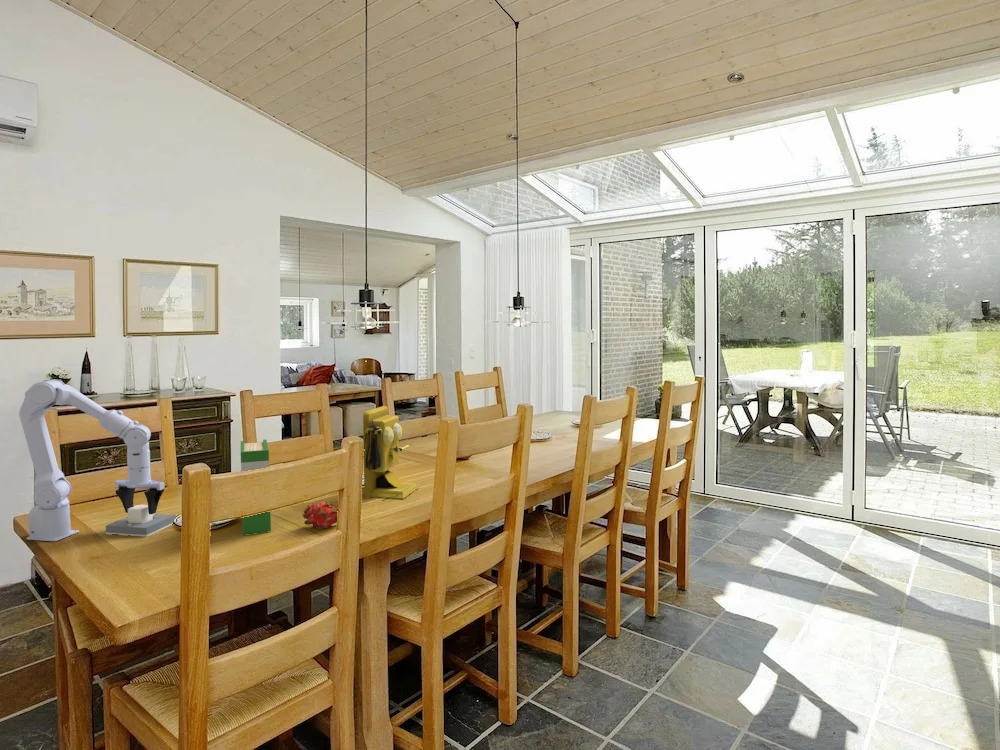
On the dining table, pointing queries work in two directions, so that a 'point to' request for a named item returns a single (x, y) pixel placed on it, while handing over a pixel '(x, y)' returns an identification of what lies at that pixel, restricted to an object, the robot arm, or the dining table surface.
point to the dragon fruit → (320, 515)
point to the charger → (139, 514)
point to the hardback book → (251, 460)
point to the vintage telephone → (383, 455)
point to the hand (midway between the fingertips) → (140, 512)
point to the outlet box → (140, 526)
